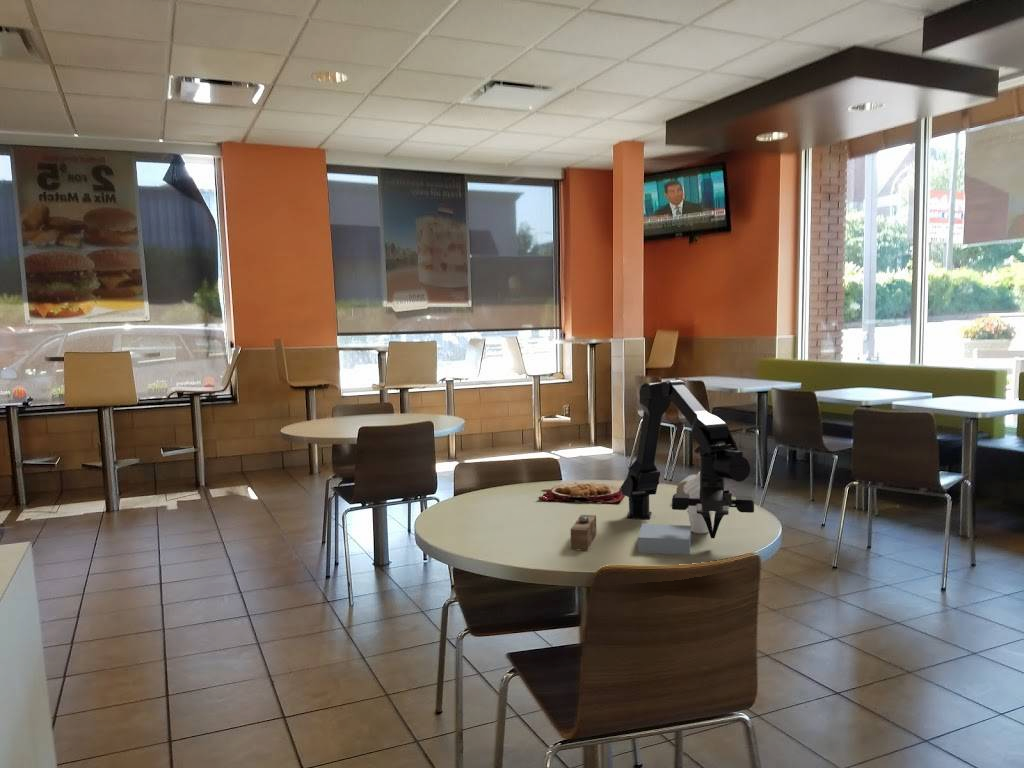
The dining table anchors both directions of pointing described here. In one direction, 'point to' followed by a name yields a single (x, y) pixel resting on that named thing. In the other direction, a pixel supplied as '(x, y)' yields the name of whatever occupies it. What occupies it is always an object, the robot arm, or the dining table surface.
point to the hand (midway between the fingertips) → (712, 538)
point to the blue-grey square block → (664, 539)
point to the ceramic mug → (682, 483)
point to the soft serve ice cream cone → (695, 519)
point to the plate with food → (584, 492)
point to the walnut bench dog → (583, 532)
